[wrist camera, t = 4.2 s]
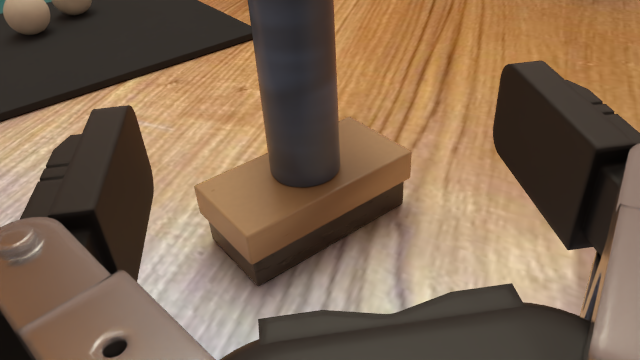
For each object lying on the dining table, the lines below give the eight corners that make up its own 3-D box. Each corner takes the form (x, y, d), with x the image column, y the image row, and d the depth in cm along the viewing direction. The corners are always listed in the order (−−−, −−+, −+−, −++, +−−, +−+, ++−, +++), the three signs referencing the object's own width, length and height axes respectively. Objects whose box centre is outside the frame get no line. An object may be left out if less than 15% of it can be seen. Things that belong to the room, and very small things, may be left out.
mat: (-109, 157, 30) (-114, 149, 30) (-134, 52, 43) (-137, 46, 43) (260, 36, 41) (260, 30, 41) (151, -18, 54) (150, -23, 54)
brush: (256, 293, 21) (204, 5, 14) (205, 238, 23) (142, -25, 17) (409, 203, 24) (422, -56, 18) (351, 165, 27) (344, -73, 21)
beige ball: (18, 44, 41) (1, 2, 39) (8, 33, 43) (-9, -8, 42) (61, 33, 43) (47, -9, 41) (49, 23, 45) (35, -17, 43)
